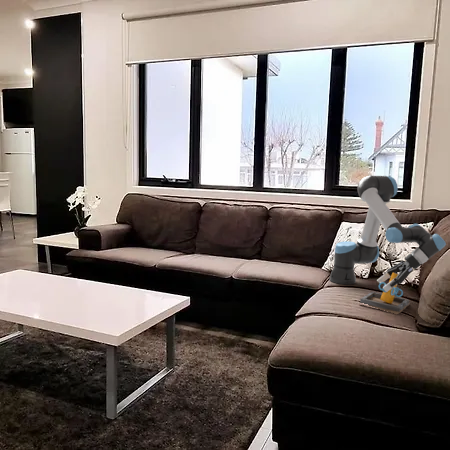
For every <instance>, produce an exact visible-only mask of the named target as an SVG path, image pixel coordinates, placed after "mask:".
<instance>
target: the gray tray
mask: <svg viewBox="0 0 450 450" xmlns="http://www.w3.org/2000/svg"><path fill="white" fill-rule="evenodd" d="M381 295H382V293H378V292H376V291H375V292H374V291H371V292H369V293H368V294H366V295H365V296H363V297H361V298H360V299H359V303H364V304H368V305H369V306H372V307H375V308H378V309H381V310H385V311H388V312H387V313H389V312H391V313H390V314H393V313H394V314H393V315H397V314H398V315H399V314H401V313H402V312H403V311H404V310H405V309H406V308H407V307H409V306H410V299H407V298H402V297H396V296H395V297H394V300H393V302H392V304H390V303H387V302H384V301H382V300H381V299H380V298H381Z"/></svg>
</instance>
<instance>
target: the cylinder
mask: <svg viewBox="0 0 450 450" xmlns="http://www.w3.org/2000/svg"><path fill="white" fill-rule="evenodd" d="M398 274H399V273H392V276H391V277H389V281H388V283H389V282H391V281H392V280H393V278H396V277H397V275H398ZM388 283H386V282H385V281H384V282H381V283H379V284H378V290H380V291H382V293H381V294H382V295H381V298H380V299H381V300H382V301H384V302H387V303H390V304H392V302H393V300H394V297H399V298H402V296H403V295H404V291H403V290H402V289H401V288H399V286H398V284H397V285H395V286H394V287H393V288H391V289H390V290H389V291H388V292H386V291H385V290H384V289H383V287H384V286H385V285H387V284H388ZM381 285H383V287H382V288H381ZM399 291H400V292H401V293H400V295H398V294H399Z"/></svg>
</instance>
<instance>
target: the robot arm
mask: <svg viewBox="0 0 450 450" xmlns="http://www.w3.org/2000/svg"><path fill="white" fill-rule="evenodd" d="M398 187H399V186H398V183H397V181H396V179H395V178H394V177H392V176H389V175H388V176H387V175H365V176H364V177H362V178H361V179H360V180H359V182H358V183H357V193H358V196H359V198H360V199H361V200H362V202H365V204H367V205H368V210H367V214H366V218H365V222H364V226H363V228H362V234H361V236H360V238H358V239H357V241H356V242H354V241H344V240H343V241H340V242H337V243H336V244H335V248H334V256H333V257H334V258H333V268H332V270H331V273H330V275H329V281H330V282H332V283H335V284H340V285H354V284H356V282H357V278H356V273H355V269H354V268H355V265H356V264H365V265H366V264H371V263H375V262H376V261H377V260H378V259H379V257H380V254H381V253H380V251H379V250H380V247H379V246H378V245H379V244H378V242H377V238H378V234H379V231H380V227H381V225H382V228H383V229H384V230H385V240H386V241H387V242H389V243H391V244H392V243H393V244H399V243H400V244H401V243H403V244H404V243H416V244H417V245H418V246H417V247H416V248H415V249H414V250H412V251H411V253H409V254H408V255H406V256H405V257H404V260H405V261H404V260H401V261H400V262H399V263H398V262H397V263H396V264H394V265H393V266H391V267H390V268H388V269H386V272H384V274H383V275H381V276H380V277H379V278H378V279H376V281H377V283H379V284H380V283H381V282H384V283H385V282H386V281H387V280H388V279H390V278H391V276H392V273H396V274H398V275H397V277H396V278H393V280H392V281H391V282H389V281H388V283H386V284H387V285H385V284H384V285H385V286H384V285H383V286H384V287H382V289H384V290H385V291H386V292H388V291H389V290H390V289H391V288H393V287H394V286H395V285H397V286H398V285H401V284H402V283H403V282H404V281H405V279H407V278H408V277H409V275H410V274H411V273H413V271H414V270H416V269H418V268H419V267H421V265H424V263H426V262H428V261H429V259H431V258H432V257H434V255H436V254H437V253H439V252H440V251H441V250H443V249H444V248H445V246H446V245H447V243H446V241H445V240H444V239H443V238H442V236H440V234H438V233H434V234H431V233H429V232H428V231H427V230H426V229H425V227H423V226H422V225H420V224H419V223H413V224H411V225H409V226H408V227H403V226H402V224H401V223H400V221H399V220H398V219H397V218H396V216H395V215H394V213H393V212H392V211H391V209H390V208H389V207H388V205H387V204H388V203H390V201H391V198H394V197H395V196H396V195H397V194H398Z"/></svg>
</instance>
